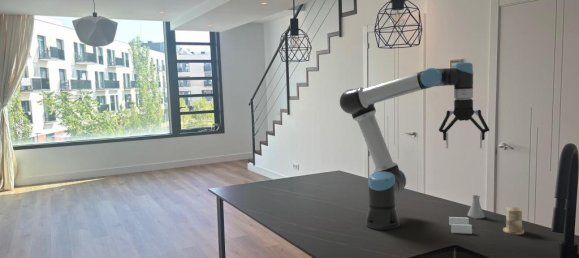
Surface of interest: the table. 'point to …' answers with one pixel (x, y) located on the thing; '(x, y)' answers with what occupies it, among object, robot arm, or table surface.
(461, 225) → the channel
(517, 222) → the block
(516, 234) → the coaster
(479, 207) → the flask
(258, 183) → the table surface
